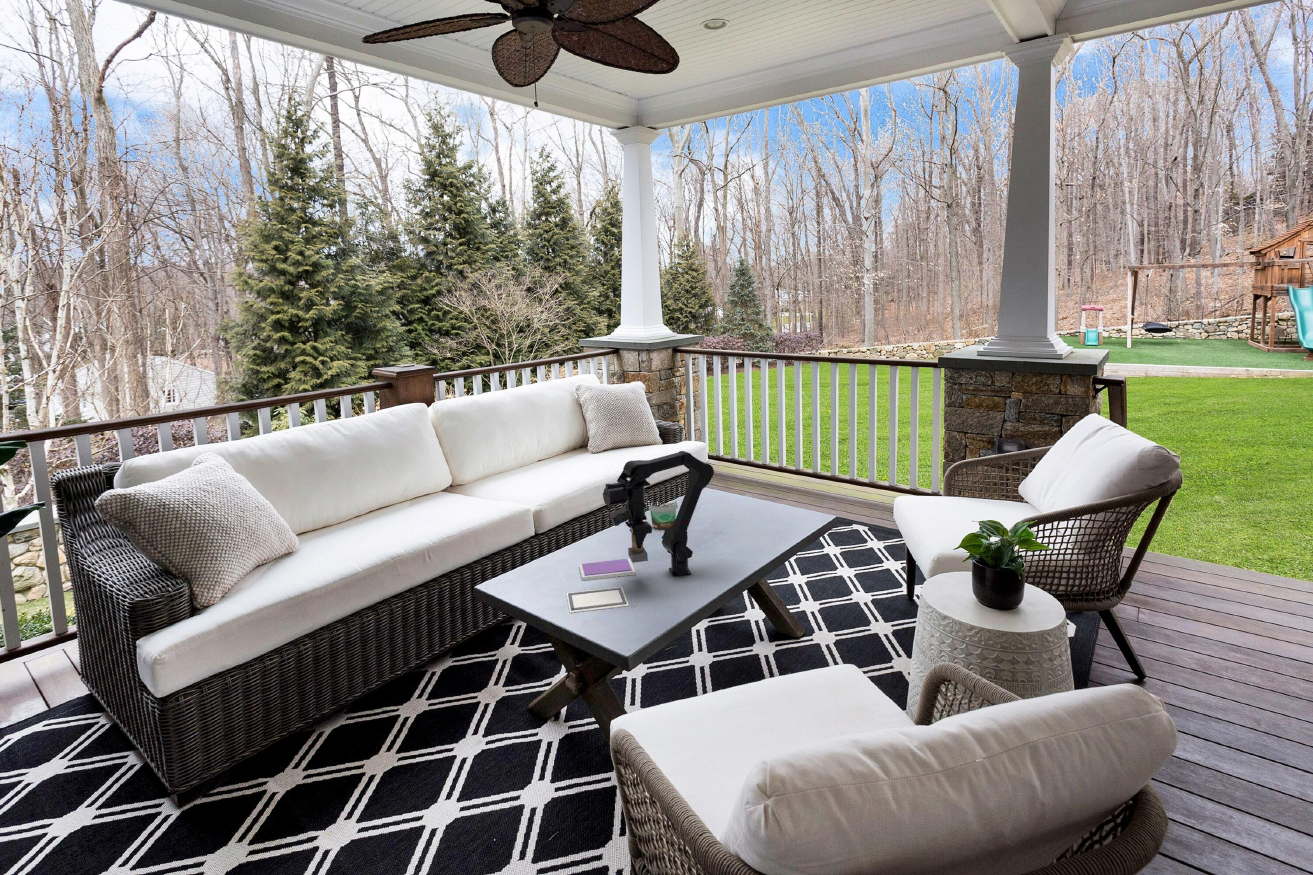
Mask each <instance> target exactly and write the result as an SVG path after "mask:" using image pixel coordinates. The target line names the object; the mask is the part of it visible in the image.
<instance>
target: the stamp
mask: <svg viewBox="0 0 1313 875" xmlns="http://www.w3.org/2000/svg"><path fill="white" fill-rule="evenodd" d="M627 551H628V552H627V553H628V557H629V559H630V560H631V563H632V564H634V563H641V562H642V563H643V562H648V561H649V560H648V559H649V555H648V552H647V550H646V549H645V547H644V543H643V544H642V546H641V548H639V549H638V548H637V545H636V541H635V536H634V535H633V534H632V533H631V547H628V548H627Z"/></svg>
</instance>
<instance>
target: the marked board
mask: <svg viewBox="0 0 1313 875" xmlns="http://www.w3.org/2000/svg"><path fill="white" fill-rule="evenodd" d="M566 598H567V599H566V601H567V600H568V601H567V606H568V611H569V614H574V612H576V613H583V612H582V611H584V612H591V611H592V612H593V611H600V610H607V609H608V610H609V609H615V608H623V607H629V606H630V605H629V602H628V599H627V596H626V594H625V592H624V589H623V586H617V587H609V588H608V587H607V588H599V589H591V590H590V589H589V590H582V591H572V592H566Z"/></svg>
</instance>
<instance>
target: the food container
mask: <svg viewBox="0 0 1313 875" xmlns="http://www.w3.org/2000/svg"><path fill="white" fill-rule="evenodd" d="M678 506H679V505H678V502H677V500H675V501H674V502H672V503H661V504H658V505H651V504H649V506H648V511H650V517H651V526H652V529H654V530H657V531H665V528H666V527H667V528H670V527H671V526H672V525H673V524H674V522H675V519H676V517H677V510H678V508H679V507H678Z"/></svg>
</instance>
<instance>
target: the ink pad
mask: <svg viewBox="0 0 1313 875" xmlns="http://www.w3.org/2000/svg"><path fill="white" fill-rule="evenodd" d="M578 567H579V572H580V576H581V581H583V582H584V580H585V581H593V580H601V579H603V580H604V579H609V578H618V576H620V577H628V575H629V576H636V570H635V567H634V565H633V562H632V561H631V559H630V558H624V559H623V558H622V559H613V560H604V561H595V562H586V563H585V562H583V563H578Z"/></svg>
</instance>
